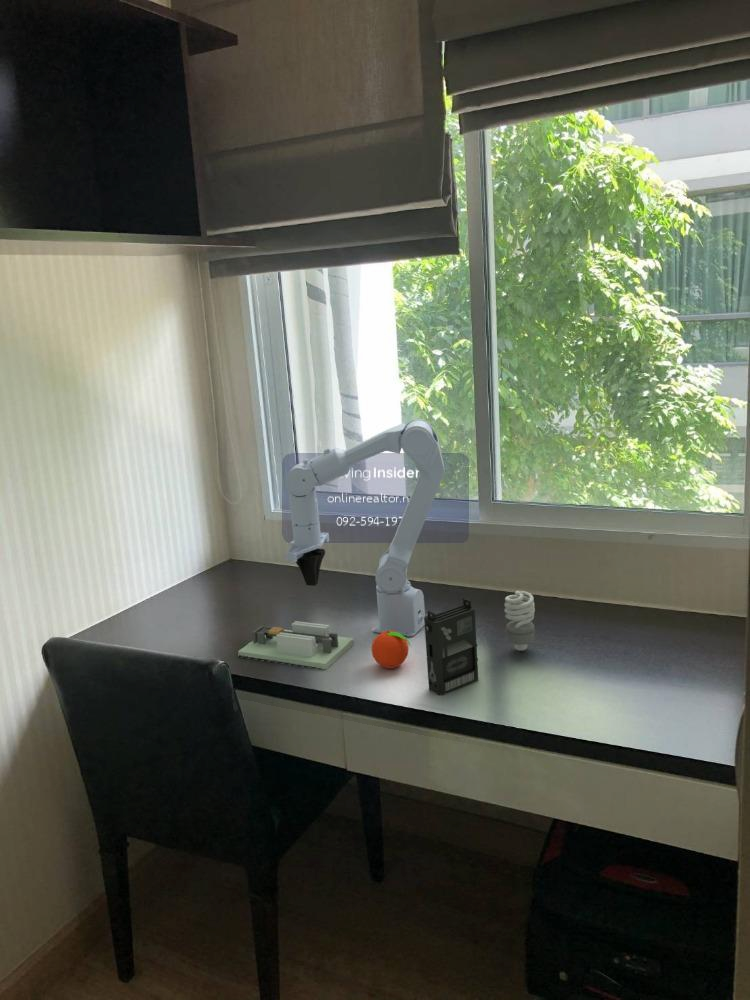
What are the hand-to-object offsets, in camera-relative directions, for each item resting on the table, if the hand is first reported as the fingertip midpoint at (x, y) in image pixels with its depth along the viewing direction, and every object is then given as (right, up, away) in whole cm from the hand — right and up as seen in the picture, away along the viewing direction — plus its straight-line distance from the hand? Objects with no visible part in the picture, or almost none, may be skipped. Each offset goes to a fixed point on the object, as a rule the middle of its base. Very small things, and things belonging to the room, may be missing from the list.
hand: (312, 584), depth 169 cm
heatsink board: (-3, -13, -7) cm, 14 cm away
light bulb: (+41, -11, -15) cm, 45 cm away
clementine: (+17, -14, -17) cm, 28 cm away
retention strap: (-3, -10, -7) cm, 13 cm away
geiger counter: (+27, -15, -25) cm, 40 cm away
